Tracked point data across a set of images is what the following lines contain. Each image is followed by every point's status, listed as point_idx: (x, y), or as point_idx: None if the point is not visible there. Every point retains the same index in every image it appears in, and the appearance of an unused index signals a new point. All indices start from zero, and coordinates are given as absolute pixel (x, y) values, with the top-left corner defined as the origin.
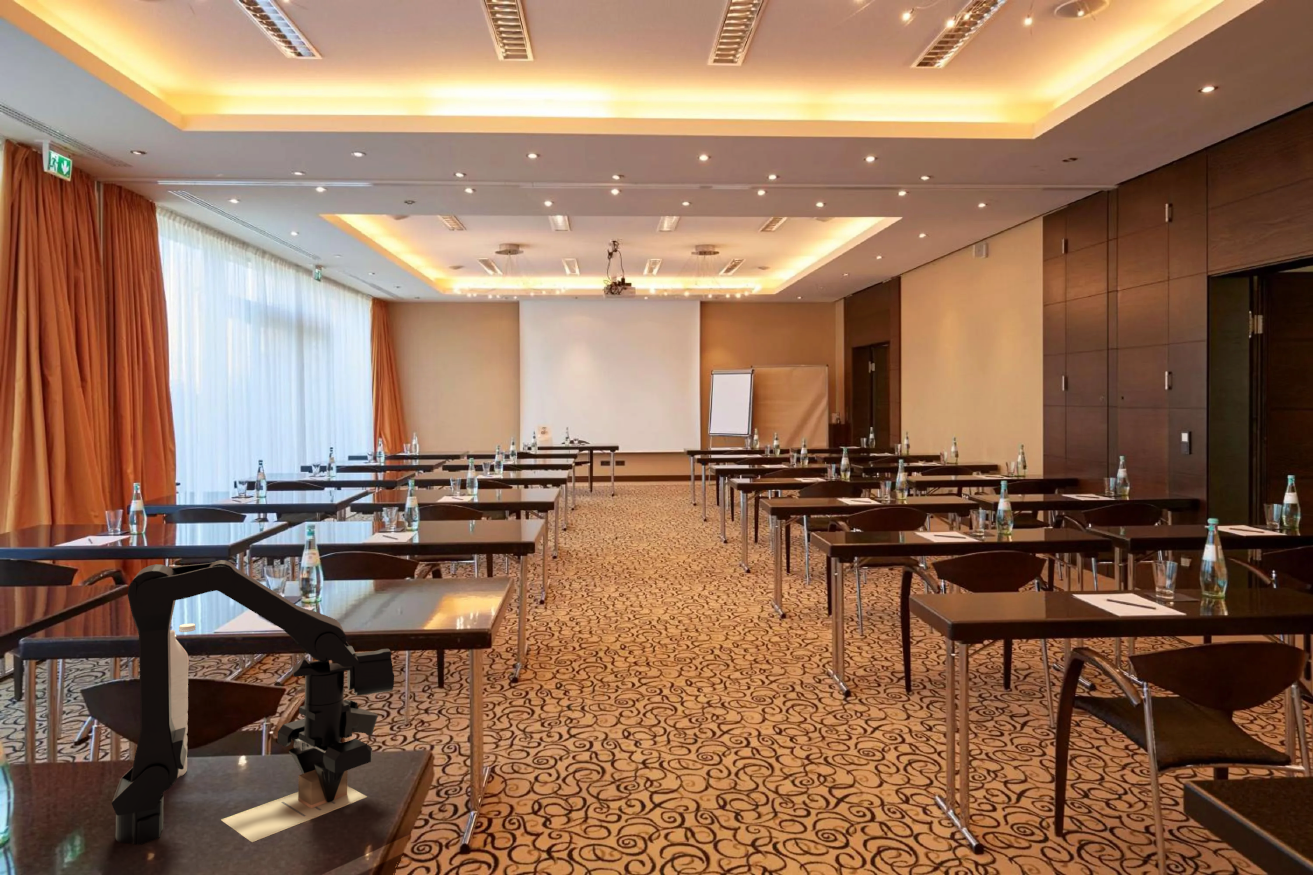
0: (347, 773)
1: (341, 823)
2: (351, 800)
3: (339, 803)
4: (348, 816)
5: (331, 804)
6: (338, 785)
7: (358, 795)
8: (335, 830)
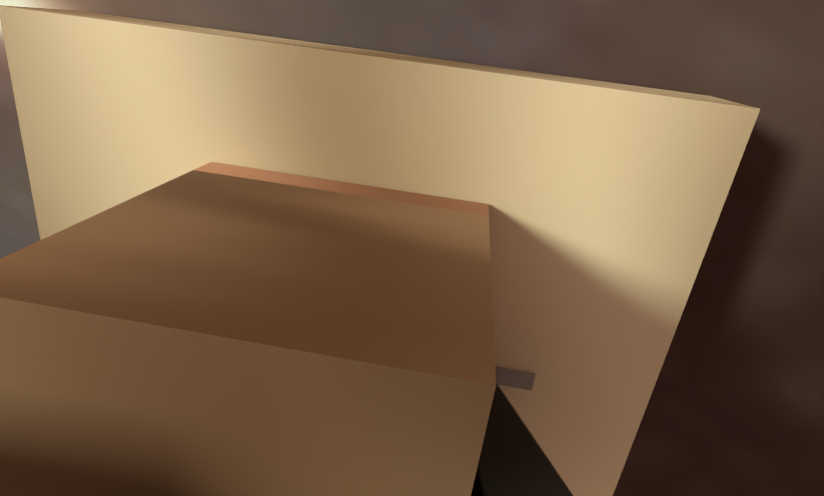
0: (488, 331)
1: (714, 410)
2: (641, 267)
3: (571, 359)
4: (682, 316)
5: (519, 402)
6: (555, 476)
7: (625, 146)
8: (748, 487)
